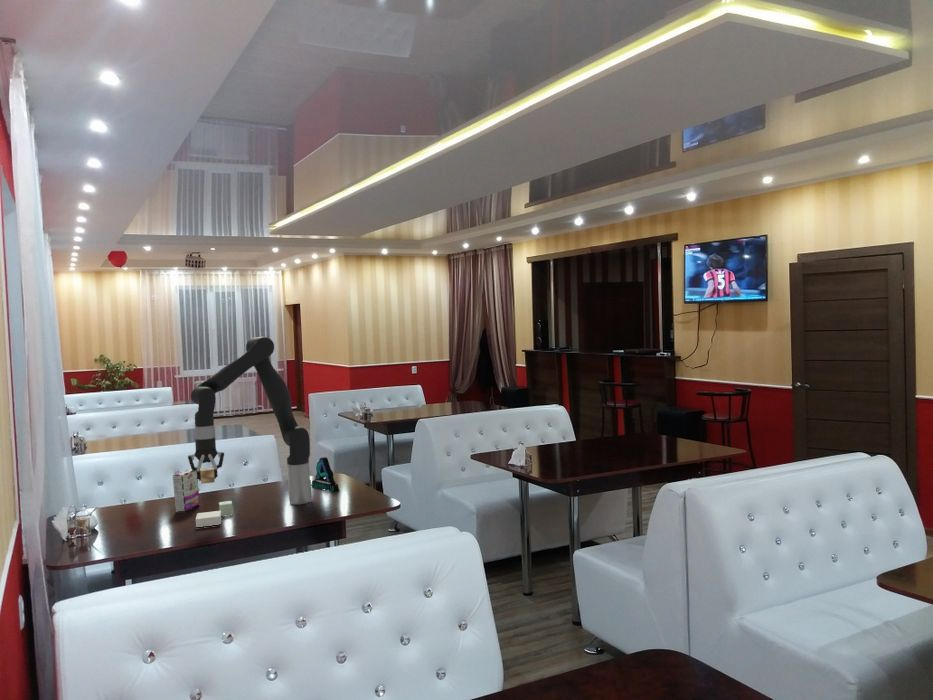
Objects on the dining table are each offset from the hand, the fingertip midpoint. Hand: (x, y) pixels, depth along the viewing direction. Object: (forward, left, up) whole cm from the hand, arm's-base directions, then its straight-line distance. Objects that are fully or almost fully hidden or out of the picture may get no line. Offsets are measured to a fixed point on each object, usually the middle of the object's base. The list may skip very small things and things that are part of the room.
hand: (207, 479), depth 280 cm
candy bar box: (+8, -30, -18) cm, 36 cm away
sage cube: (-7, -11, -18) cm, 22 cm away
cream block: (0, 0, -18) cm, 18 cm away
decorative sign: (-52, -32, -18) cm, 64 cm away
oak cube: (0, 0, -1) cm, 1 cm away
